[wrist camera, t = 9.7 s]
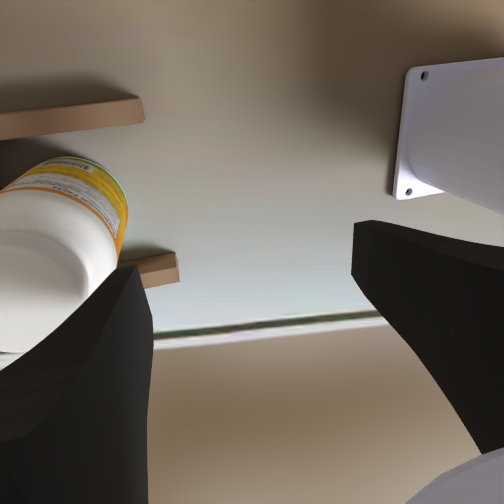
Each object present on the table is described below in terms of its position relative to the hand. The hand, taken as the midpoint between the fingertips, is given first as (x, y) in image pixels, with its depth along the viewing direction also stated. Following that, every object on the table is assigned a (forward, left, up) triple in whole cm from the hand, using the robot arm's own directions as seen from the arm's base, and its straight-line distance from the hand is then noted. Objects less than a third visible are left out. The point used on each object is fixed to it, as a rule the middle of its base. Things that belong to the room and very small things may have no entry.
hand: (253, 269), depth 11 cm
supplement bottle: (+8, 0, -11) cm, 13 cm away
